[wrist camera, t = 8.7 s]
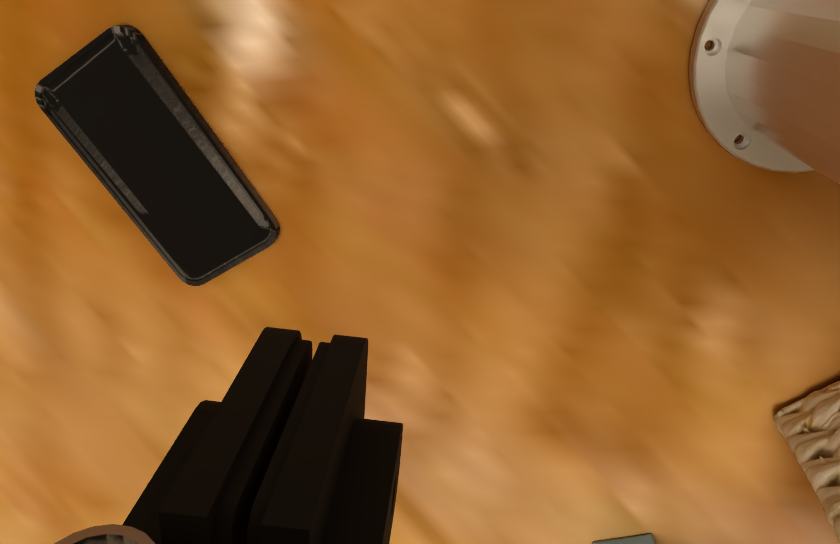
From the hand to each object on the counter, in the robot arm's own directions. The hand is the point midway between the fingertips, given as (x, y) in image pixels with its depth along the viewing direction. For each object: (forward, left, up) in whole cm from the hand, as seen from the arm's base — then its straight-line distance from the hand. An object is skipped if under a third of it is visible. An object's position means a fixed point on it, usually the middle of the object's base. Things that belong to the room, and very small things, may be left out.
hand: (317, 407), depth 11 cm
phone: (+16, +6, -30) cm, 34 cm away
